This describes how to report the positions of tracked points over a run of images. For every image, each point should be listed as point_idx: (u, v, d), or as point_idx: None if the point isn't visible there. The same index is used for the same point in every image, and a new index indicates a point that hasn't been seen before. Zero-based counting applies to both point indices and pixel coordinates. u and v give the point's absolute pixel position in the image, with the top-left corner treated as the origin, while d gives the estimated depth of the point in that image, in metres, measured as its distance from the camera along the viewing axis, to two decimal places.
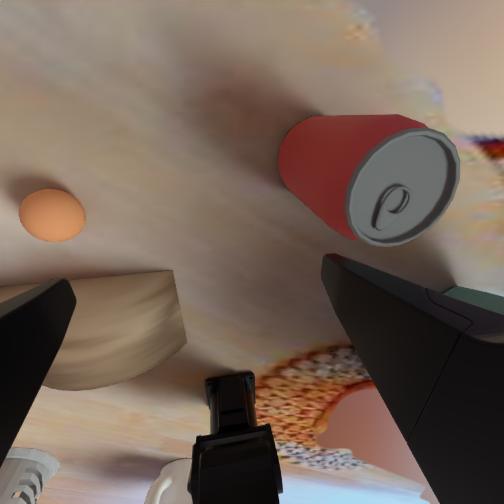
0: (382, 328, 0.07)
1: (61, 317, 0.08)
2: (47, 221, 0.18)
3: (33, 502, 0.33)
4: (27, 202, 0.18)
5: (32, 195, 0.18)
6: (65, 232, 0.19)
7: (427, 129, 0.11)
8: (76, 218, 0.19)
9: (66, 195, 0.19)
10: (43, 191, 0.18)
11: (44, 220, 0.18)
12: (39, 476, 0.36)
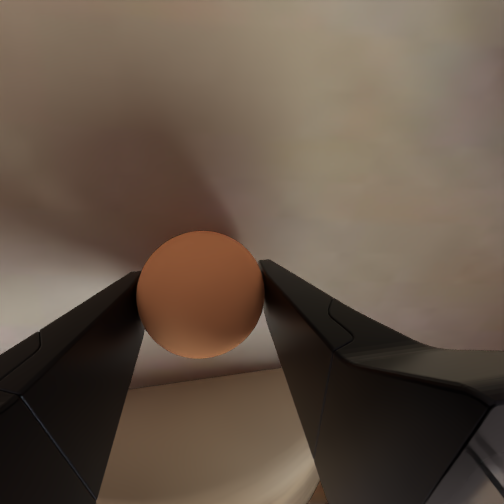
0: (291, 340, 0.06)
1: None
2: (222, 325, 0.07)
3: None
4: (172, 276, 0.06)
5: (179, 255, 0.07)
6: (243, 339, 0.08)
7: None
8: (263, 301, 0.08)
9: (241, 247, 0.08)
10: (200, 242, 0.07)
11: (217, 325, 0.07)
12: None
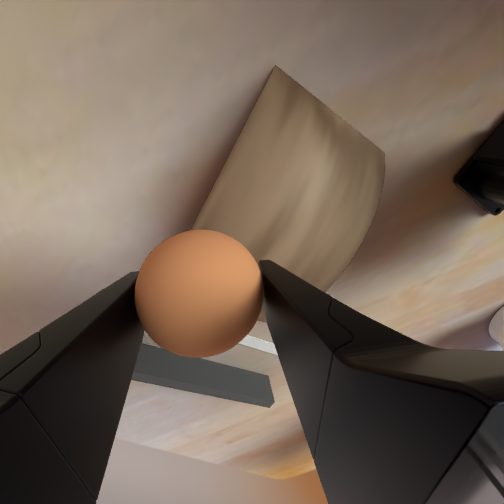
0: (292, 340, 0.06)
1: None
2: (220, 324, 0.07)
3: None
4: (169, 275, 0.06)
5: (176, 253, 0.07)
6: (242, 338, 0.08)
7: None
8: (262, 300, 0.08)
9: (239, 245, 0.08)
10: (198, 240, 0.07)
11: (215, 324, 0.06)
12: None
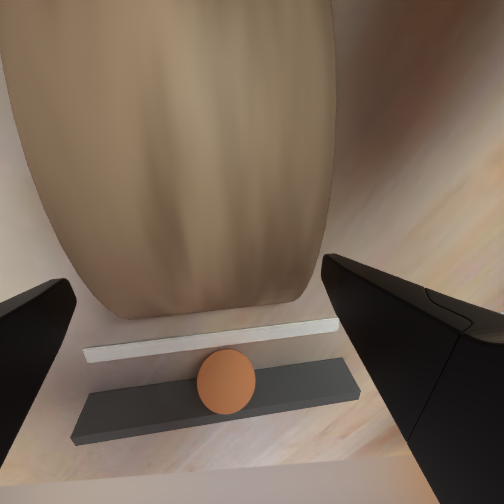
0: (382, 328, 0.07)
1: (61, 317, 0.08)
2: (239, 403, 0.16)
3: None
4: (218, 385, 0.16)
5: (219, 374, 0.16)
6: None
7: None
8: None
9: (244, 361, 0.17)
10: (227, 365, 0.16)
11: (237, 403, 0.16)
12: None
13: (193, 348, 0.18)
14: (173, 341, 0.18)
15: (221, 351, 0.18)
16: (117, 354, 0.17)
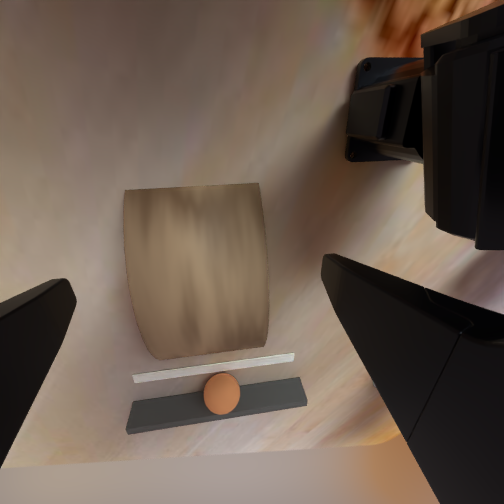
0: (382, 329, 0.07)
1: (61, 317, 0.08)
2: (230, 406, 0.26)
3: None
4: (217, 396, 0.26)
5: (218, 389, 0.27)
6: None
7: None
8: (239, 395, 0.28)
9: (232, 380, 0.28)
10: (222, 383, 0.27)
11: (229, 407, 0.26)
12: None
13: (200, 373, 0.29)
14: (187, 369, 0.28)
15: (218, 374, 0.28)
16: (153, 377, 0.28)
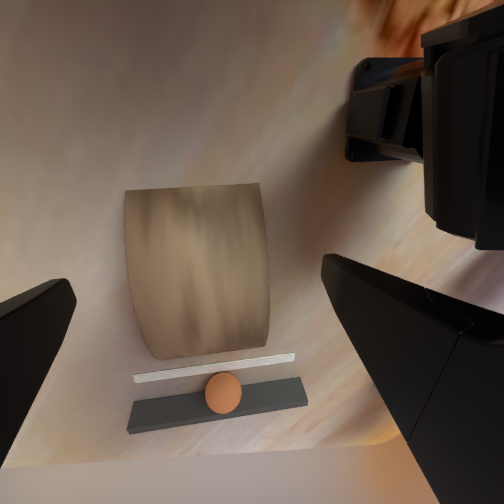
0: (383, 328, 0.07)
1: (61, 317, 0.08)
2: (232, 404, 0.26)
3: None
4: (219, 394, 0.26)
5: (219, 387, 0.27)
6: None
7: None
8: (241, 393, 0.28)
9: (234, 378, 0.28)
10: (224, 382, 0.27)
11: (231, 405, 0.26)
12: None
13: (201, 373, 0.29)
14: (188, 369, 0.28)
15: (219, 374, 0.28)
16: (154, 378, 0.28)
